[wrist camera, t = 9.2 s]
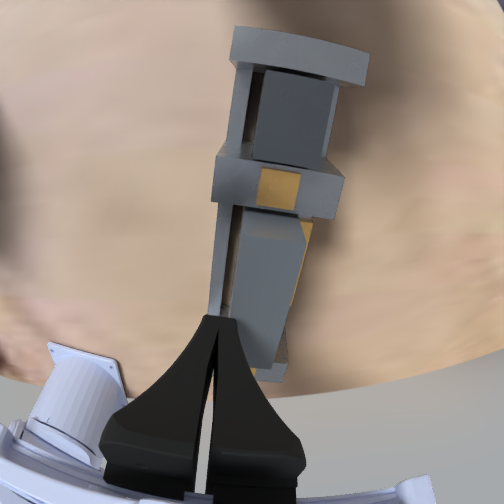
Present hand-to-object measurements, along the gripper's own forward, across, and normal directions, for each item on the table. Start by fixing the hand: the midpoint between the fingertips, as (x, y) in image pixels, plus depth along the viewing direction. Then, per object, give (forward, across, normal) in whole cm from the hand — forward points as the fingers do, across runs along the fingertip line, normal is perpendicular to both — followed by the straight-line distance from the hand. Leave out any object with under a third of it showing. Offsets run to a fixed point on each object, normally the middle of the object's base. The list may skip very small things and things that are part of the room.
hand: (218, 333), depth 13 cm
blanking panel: (+8, -2, -1) cm, 8 cm away
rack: (+8, -2, -3) cm, 8 cm away
